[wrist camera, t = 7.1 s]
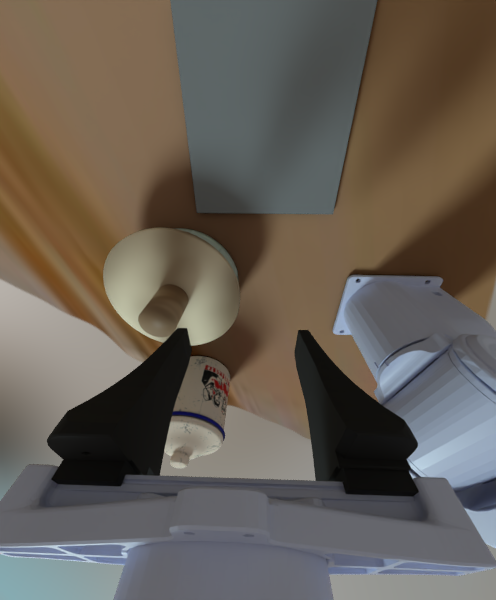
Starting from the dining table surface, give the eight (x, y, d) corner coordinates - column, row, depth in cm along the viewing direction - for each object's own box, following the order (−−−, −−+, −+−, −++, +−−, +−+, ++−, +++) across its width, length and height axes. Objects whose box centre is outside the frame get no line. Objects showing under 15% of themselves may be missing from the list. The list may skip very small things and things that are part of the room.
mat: (374, -4, 13) (379, -11, 12) (330, 212, 19) (332, 214, 19) (173, 1, 13) (169, -5, 12) (198, 211, 20) (196, 212, 19)
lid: (244, 234, 17) (240, 255, 13) (237, 344, 23) (233, 379, 19) (89, 220, 16) (41, 238, 13) (126, 335, 23) (101, 368, 19)
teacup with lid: (242, 384, 34) (235, 476, 24) (193, 396, 36) (168, 484, 26) (203, 331, 28) (173, 424, 18) (147, 349, 30) (94, 440, 20)
